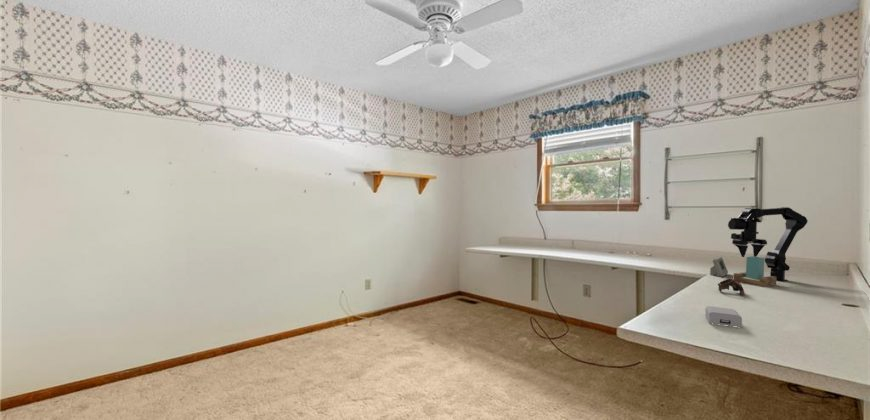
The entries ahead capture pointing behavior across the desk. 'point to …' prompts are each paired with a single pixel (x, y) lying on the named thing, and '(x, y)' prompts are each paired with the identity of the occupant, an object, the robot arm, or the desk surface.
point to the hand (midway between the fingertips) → (749, 256)
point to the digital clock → (718, 267)
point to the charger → (723, 316)
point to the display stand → (755, 280)
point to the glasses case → (754, 267)
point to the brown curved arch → (732, 283)
